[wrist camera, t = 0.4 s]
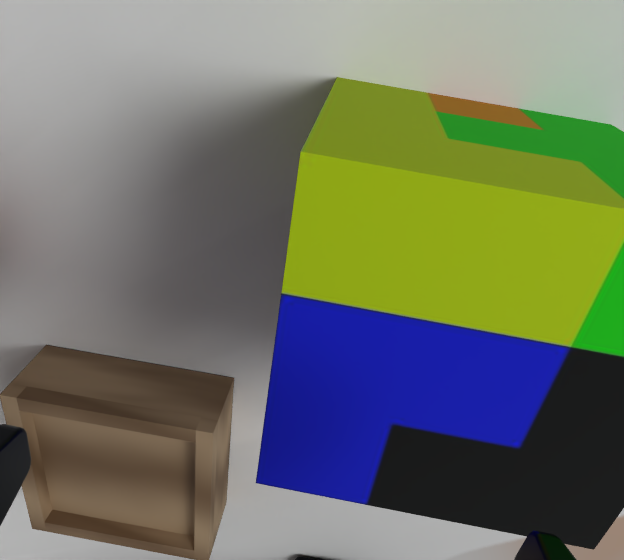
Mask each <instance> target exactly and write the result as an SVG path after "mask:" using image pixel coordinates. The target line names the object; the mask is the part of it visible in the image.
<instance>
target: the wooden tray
mask: <svg viewBox="0 0 624 560" xmlns="http://www.w3.org/2000/svg"><path fill="white" fill-rule="evenodd" d="M233 387H234V378H231V377H225V376H220V375H214V374H208V373H203V372H197V371H191V370H185V369H180V368H174V367H168V366H163V365H157V364H151V363H146V362H140V361H134V360H129V359H123V358H117V357H111V356H106V355H100V354H94V353H89V352H83V351H77V350H72V349H66V348H60V347H54V346H49V345H46V346H45V347H44V348H43V349H42V350H41V351H40V352H39V353H38V354H37V355H36V357H35V358H34V359H33V360H32V361H31V362H30V363H29V364H28V365H27V366H26V367H25V368H24V369H23V370H22V371H21V372H20V374H19V375H18V376H17V377H16V378H15V379H14V380H13V381H12V382H11V383H10V384H9V385H8V386H7V387H6V388H5V389H4V391H3V392H2V393H1V394H0V399H1V403H2V407H3V411H4V415H5V420H6V424H7V425H12V426H17V427H21V428H24V430H25V431H26V433H27V437H28V443H29V448H30V453H31V466H30V469H29V472H28V474H27V476H26V478H25V480H24V482H23V483H22V489H23V493H24V497H25V501H26V505H27V509H28V513H29V517H30V521H31V525H32V529H37V530H42V531H47V532H53V533H58V534H63V535H68V536H74V537H79V538H84V539H89V540H95V541H100V542H105V543H111V544H116V545H121V546H126V547H132V548H137V549H142V550H147V551H153V552H158V553H163V554H168V555H174V556H179V557H184V558H190V559H195V560H209V558H210V555H211V552H212V548H213V545H214V542H215V538H216V535H217V532H218V528H219V525H220V522H221V518H222V515H223V512H224V508H225V505H226V500H227V483H228V467H229V451H230V435H231V419H232V403H233Z"/></svg>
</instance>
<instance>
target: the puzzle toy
mask: <svg viewBox="0 0 624 560" xmlns="http://www.w3.org/2000/svg"><path fill="white" fill-rule="evenodd" d="M256 483H259V484H264V485H269V486H274V487H279V488H284V489H289V490H294V491H299V492H304V493H309V494H314V495H320V496H325V497H330V498H335V499H340V500H345V501H350V502H355V503H360V504H365V505H370V506H375V507H381V508H386V509H391V510H396V511H401V512H406V513H411V514H416V515H421V516H426V517H431V518H436V519H441V520H447V521H452V522H457V523H462V524H467V525H472V526H477V527H482V528H487V529H492V530H497V531H502V532H508V533H513V534H518V535H523V536H528V535H529V533H530V532H532V531H540V532H545V533H550V534H554V535H556V536H557V537H559V538H560V539H561V540H562V542H563V543H564V544H569V545H574V546H579V547H584V548H589V549H595V547H596V546H597V545H598V543H599V542H600V540H601V539H602V537H603V536H604V535H605V533H606V532H607V531H608V529H609V528H610V526H611V525H612V524H613V522H614V521H615V519H616V518H617V517H618V515H619V514H620V512H621V511H622V510H623V508H624V132H623V131H621V130H619V129H618V128H616V127H614V126H612V125H610V124H604V123H598V122H593V121H587V120H581V119H575V118H570V117H564V116H558V115H552V114H547V113H541V112H535V111H529V110H523V109H518V108H512V107H506V106H500V105H495V104H489V103H483V102H477V101H472V100H466V99H460V98H454V97H448V96H443V95H437V94H431V93H425V92H420V91H414V90H408V89H402V88H397V87H391V86H385V85H379V84H373V83H368V82H362V81H356V80H350V79H345V78H339V77H337V79H336V81H335V83H334V85H333V87H332V89H331V91H330V93H329V95H328V97H327V99H326V101H325V103H324V105H323V107H322V109H321V111H320V113H319V115H318V117H317V119H316V121H315V123H314V125H313V127H312V129H311V131H310V133H309V135H308V138H307V140H306V142H305V144H304V146H303V148H302V150H301V152H300V160H299V167H298V175H297V182H296V189H295V197H294V204H293V212H292V219H291V226H290V234H289V241H288V249H287V256H286V263H285V271H284V278H283V286H282V293H281V300H280V308H279V315H278V323H277V330H276V337H275V345H274V352H273V360H272V367H271V375H270V382H269V389H268V397H267V404H266V412H265V419H264V426H263V434H262V441H261V449H260V456H259V463H258V471H257V478H256Z"/></svg>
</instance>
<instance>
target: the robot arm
mask: <svg viewBox="0 0 624 560" xmlns="http://www.w3.org/2000/svg"><path fill="white" fill-rule="evenodd" d="M30 466H31V453H30V448H29V443H28V437H27V433H26V431H25V430H24V428H21V427H17V426H12V425H7V424H2V425H0V526H1V524H2V522H3V520H4V518H5V516H6V514H7V512H8V510H9V508H10V506H11V505H12V503H13V501H14V499H15V497H16V495H17V493H18V491H19V489H20V487H21V485H22V483H23V482H24V480H25V478H26V476H27V474H28V472H29V469H30ZM295 560H317V559H312V558H306V557H297V558H296V559H295ZM515 560H576V559H575V557H574V556H573V555H572V553H571V552H570V551H569V549H568V548H567V547H566V546H565V544H564V543H563V542H562V540H561V539H560V538H559V537H557V536H556V535H554V534H550V533H545V532H540V531H532V532H530V533H529V535H528V536H527V538H526V540H525V541H524V543H523V545H522V546H521V548H520V550H519V552H518V553H517V555H516V557H515Z"/></svg>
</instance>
